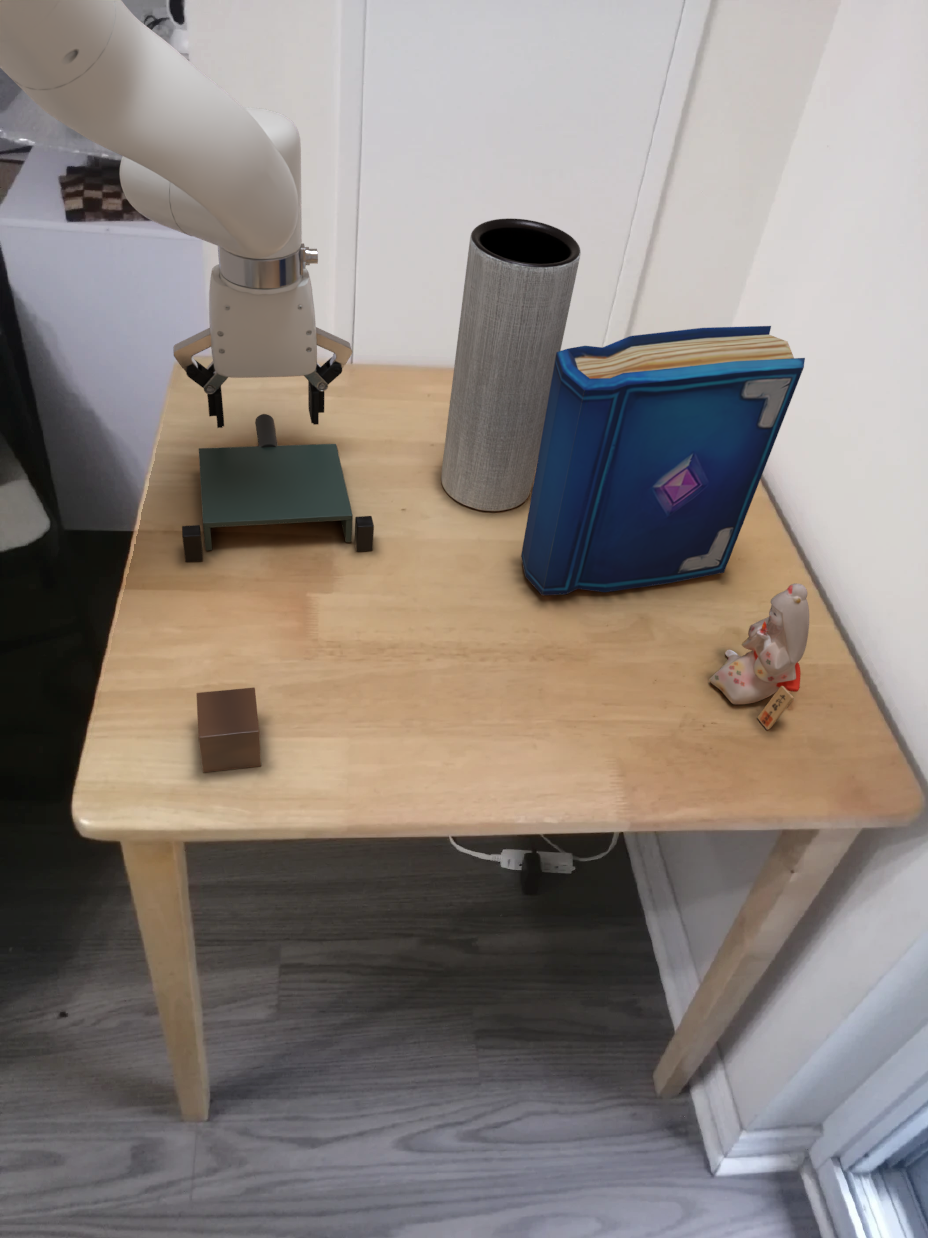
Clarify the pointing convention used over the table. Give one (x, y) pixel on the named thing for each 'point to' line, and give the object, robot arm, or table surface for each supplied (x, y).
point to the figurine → (769, 657)
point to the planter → (506, 359)
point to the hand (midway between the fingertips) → (267, 418)
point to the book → (653, 456)
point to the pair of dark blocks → (194, 544)
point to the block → (228, 729)
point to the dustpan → (272, 484)
